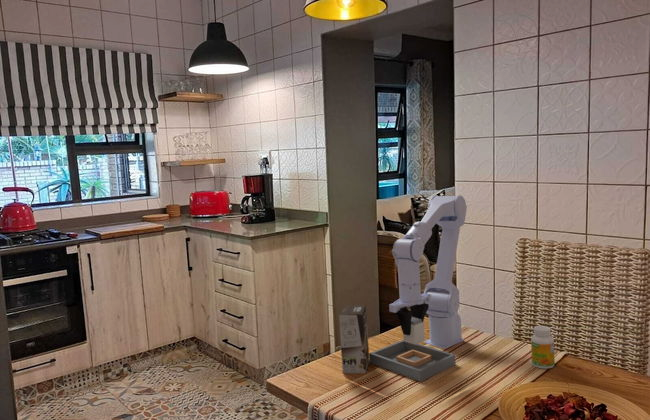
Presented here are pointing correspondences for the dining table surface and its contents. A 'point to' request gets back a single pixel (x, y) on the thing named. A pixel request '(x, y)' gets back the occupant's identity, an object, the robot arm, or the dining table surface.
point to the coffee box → (354, 339)
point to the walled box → (388, 360)
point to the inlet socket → (413, 352)
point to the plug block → (415, 332)
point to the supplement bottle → (542, 347)
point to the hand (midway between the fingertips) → (412, 332)
